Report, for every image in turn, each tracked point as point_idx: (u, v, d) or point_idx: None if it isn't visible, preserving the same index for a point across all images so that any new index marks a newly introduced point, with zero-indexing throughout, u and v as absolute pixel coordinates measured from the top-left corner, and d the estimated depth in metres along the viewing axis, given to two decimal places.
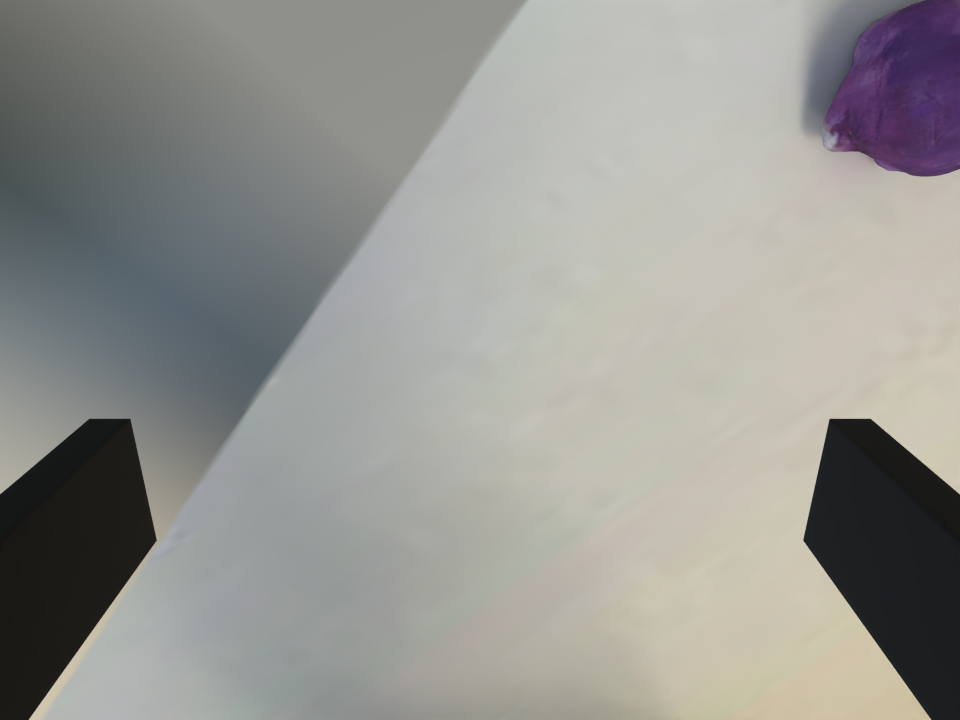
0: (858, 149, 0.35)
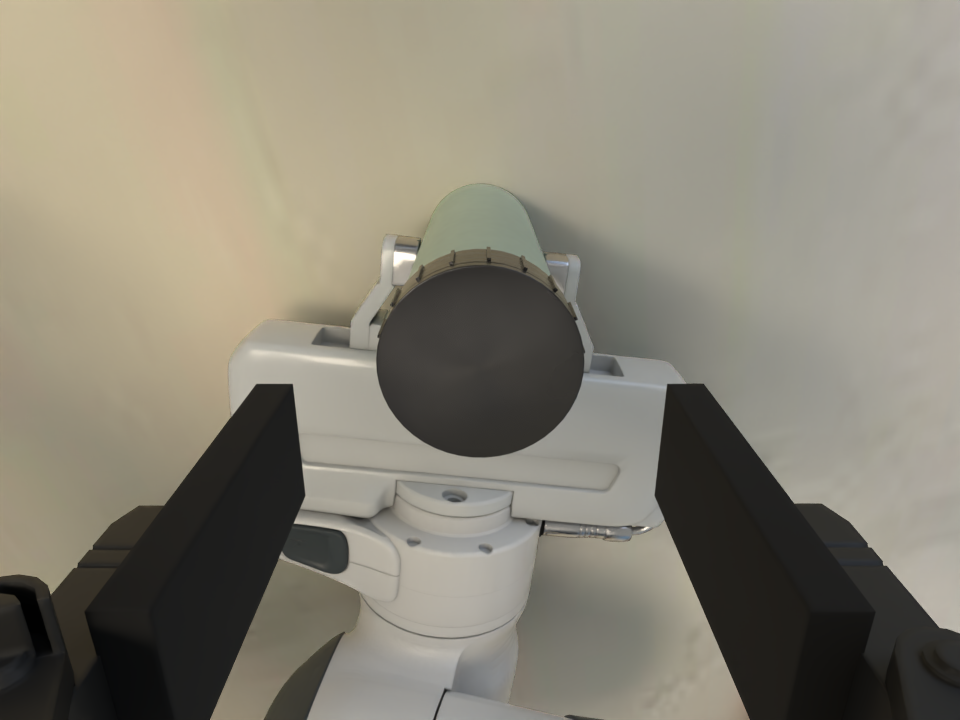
0: None
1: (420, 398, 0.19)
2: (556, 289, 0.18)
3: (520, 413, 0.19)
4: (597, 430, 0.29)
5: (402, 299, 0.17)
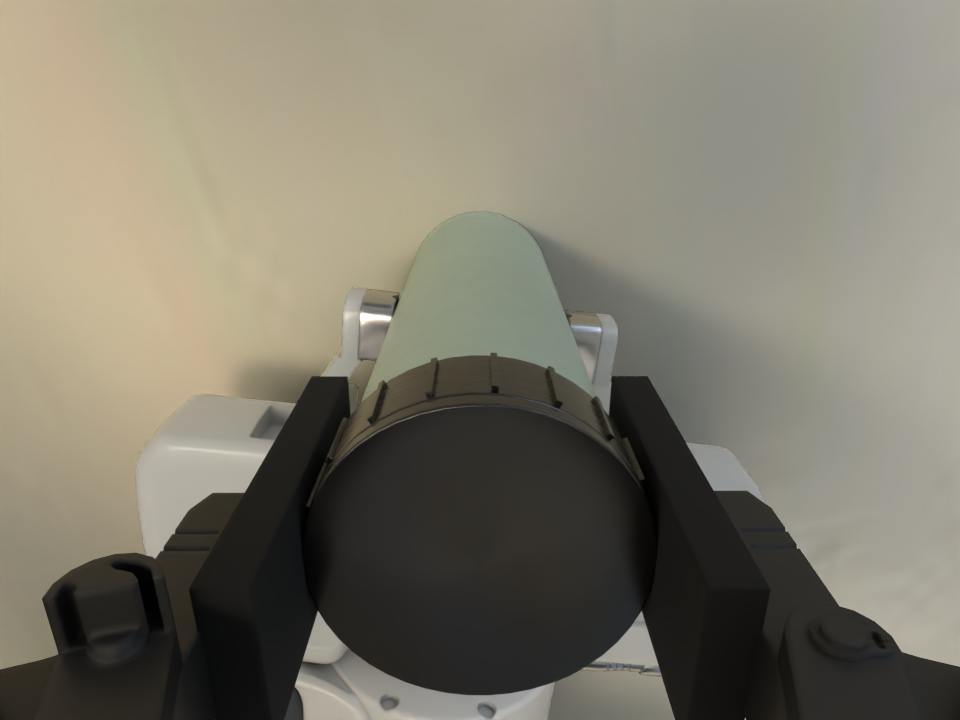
0: None
1: (378, 610, 0.11)
2: (611, 435, 0.10)
3: (547, 633, 0.11)
4: None
5: (343, 459, 0.10)
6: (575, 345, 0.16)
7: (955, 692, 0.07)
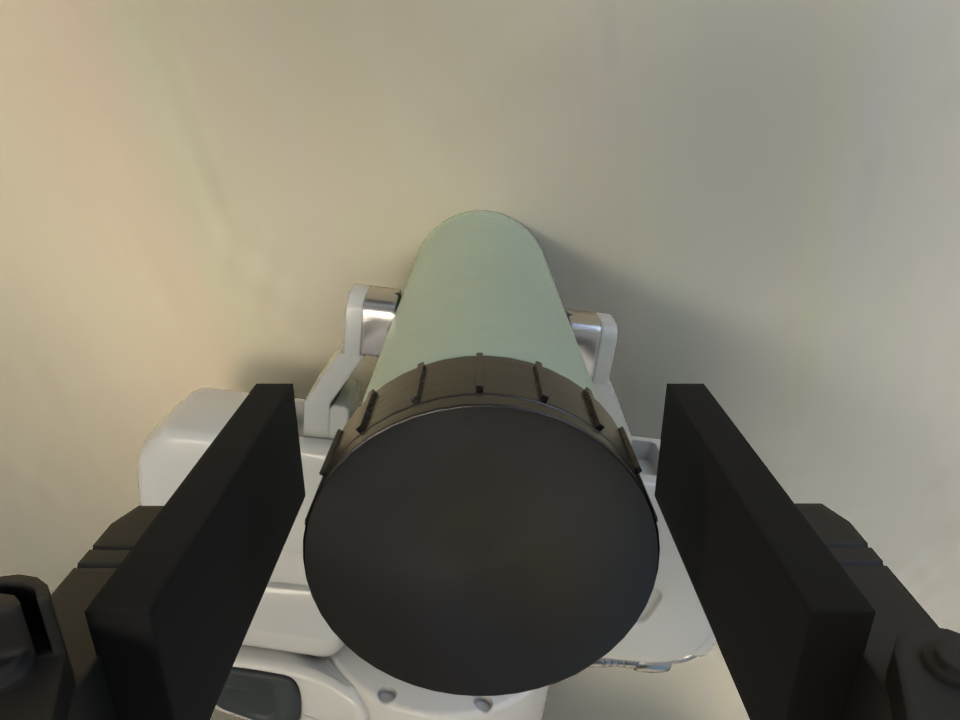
0: None
1: (528, 648, 0.11)
2: (359, 427, 0.10)
3: (578, 512, 0.10)
4: None
5: (358, 653, 0.11)
6: (575, 343, 0.16)
7: None
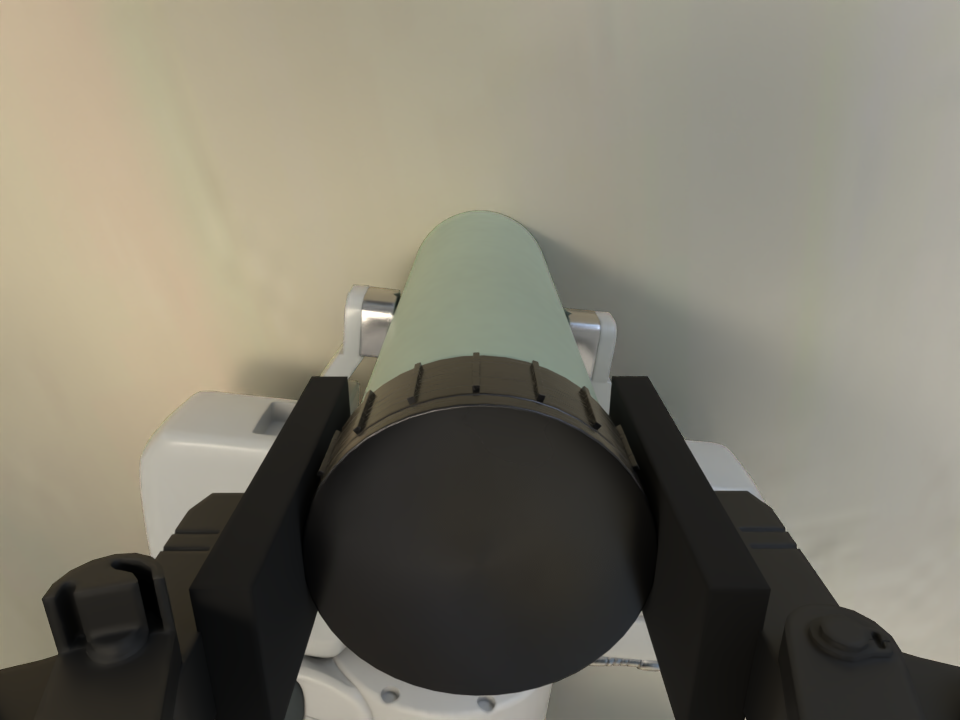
0: None
1: (527, 648, 0.11)
2: (356, 428, 0.10)
3: (575, 511, 0.10)
4: None
5: (358, 654, 0.11)
6: (574, 341, 0.16)
7: (955, 692, 0.07)
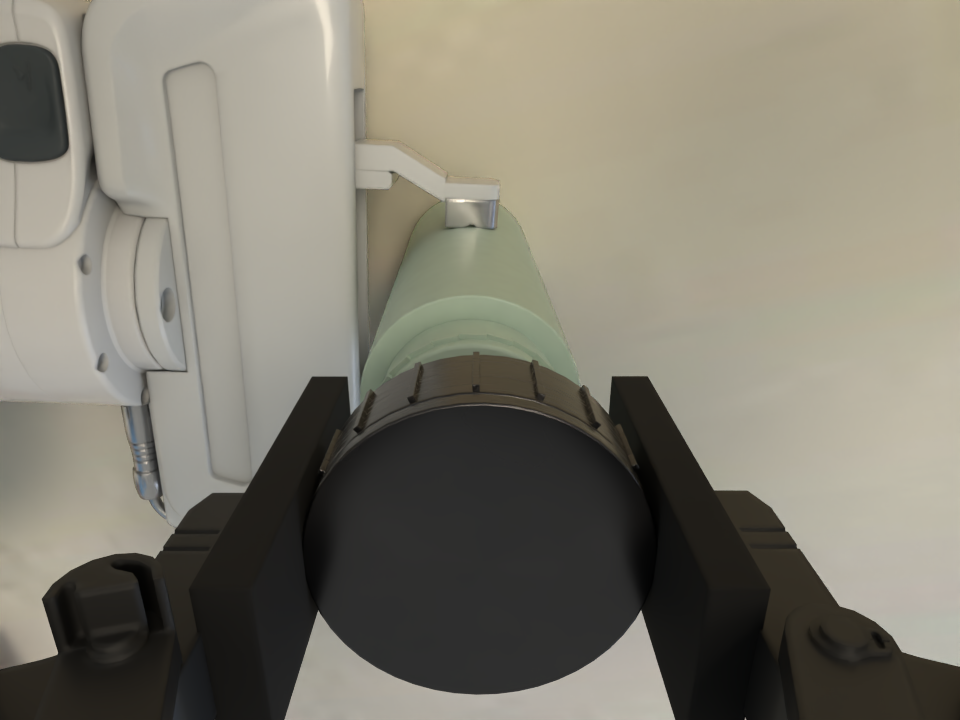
0: None
1: (527, 646, 0.11)
2: (357, 427, 0.10)
3: (575, 510, 0.10)
4: None
5: (358, 653, 0.11)
6: None
7: (955, 692, 0.07)
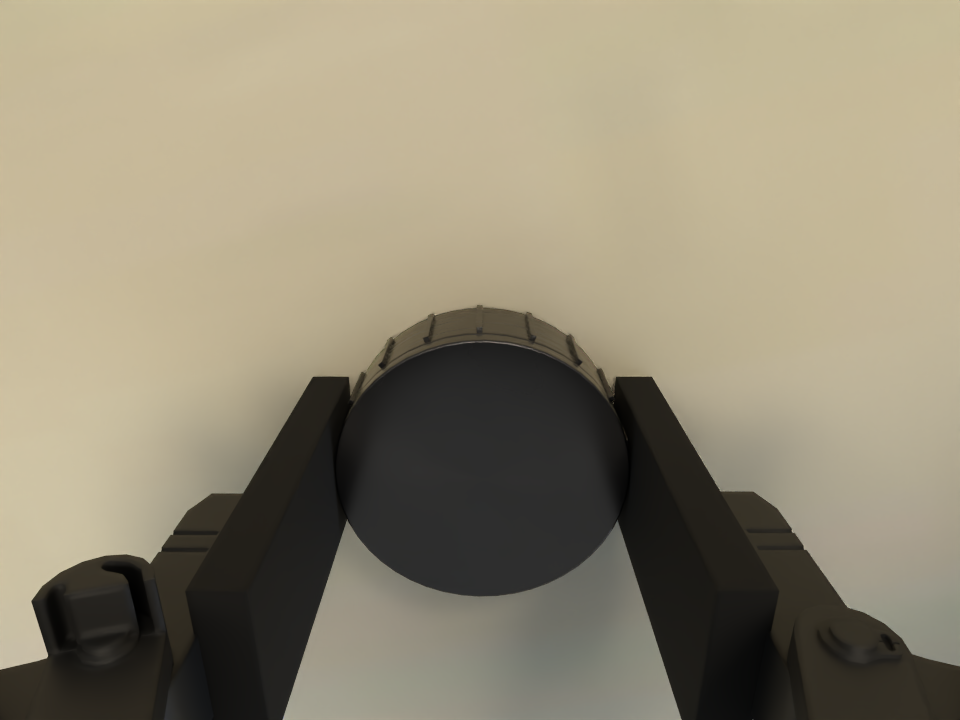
0: None
1: (522, 553, 0.13)
2: (381, 363, 0.13)
3: (561, 432, 0.12)
4: None
5: (380, 558, 0.14)
6: None
7: None
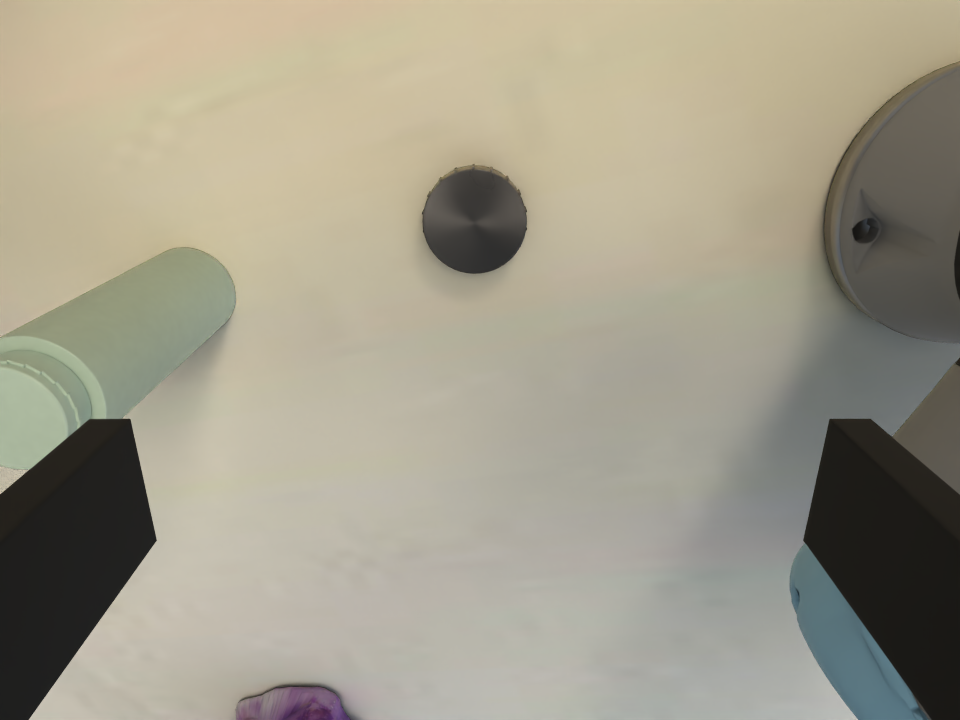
0: None
1: (489, 254, 0.37)
2: (439, 180, 0.36)
3: (501, 204, 0.36)
4: None
5: (437, 257, 0.37)
6: None
7: None
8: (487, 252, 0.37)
